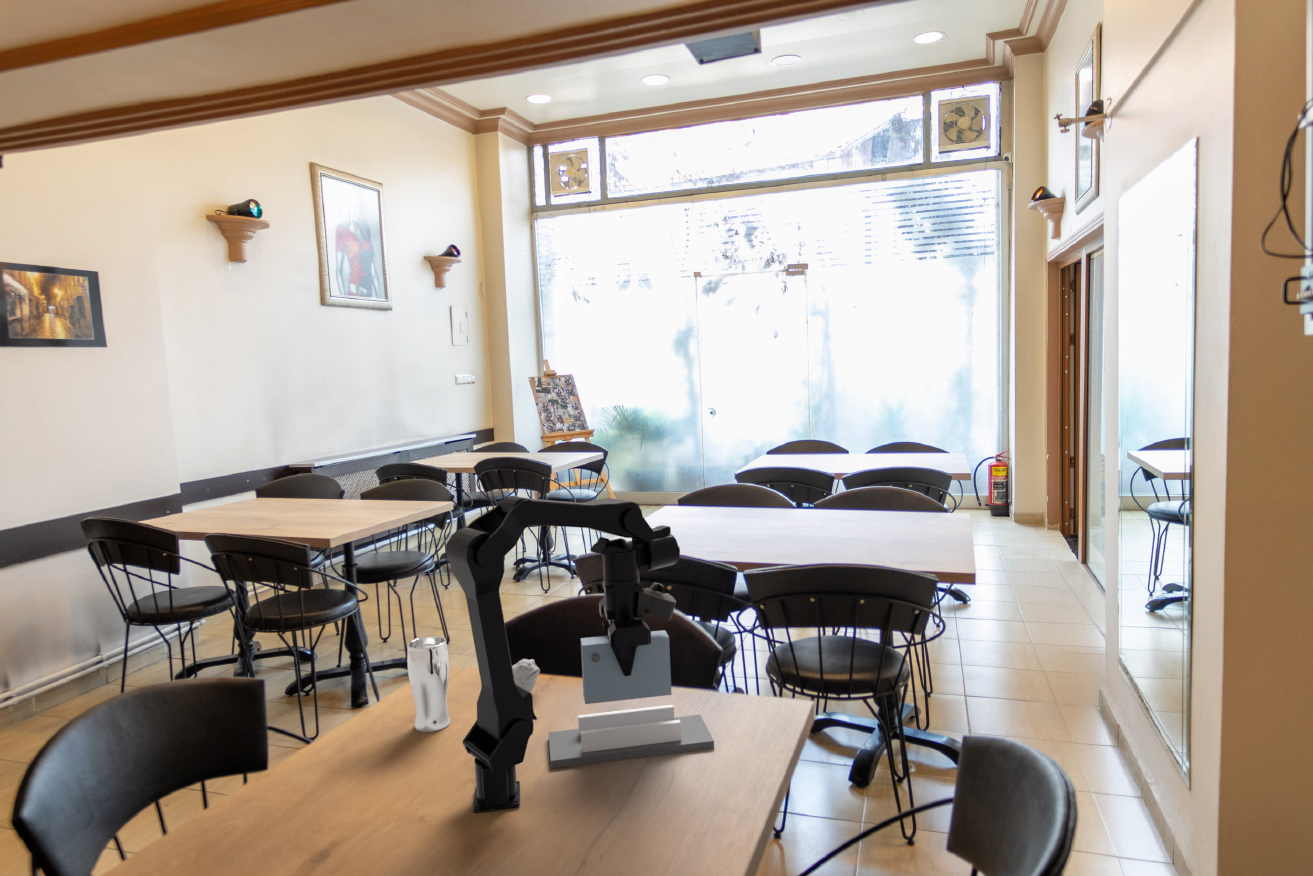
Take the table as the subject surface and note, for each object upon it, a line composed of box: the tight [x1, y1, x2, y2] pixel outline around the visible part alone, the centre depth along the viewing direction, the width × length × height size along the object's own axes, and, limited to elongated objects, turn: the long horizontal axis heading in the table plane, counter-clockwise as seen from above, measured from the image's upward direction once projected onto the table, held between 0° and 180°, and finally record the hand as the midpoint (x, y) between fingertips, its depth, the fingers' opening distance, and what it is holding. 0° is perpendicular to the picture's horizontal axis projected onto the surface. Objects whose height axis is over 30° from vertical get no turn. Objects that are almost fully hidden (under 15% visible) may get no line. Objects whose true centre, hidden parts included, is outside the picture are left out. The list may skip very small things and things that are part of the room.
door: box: [580, 629, 672, 705], centre depth 130 cm, size 4×14×10 cm, turn 100°
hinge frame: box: [548, 704, 715, 769], centre depth 131 cm, size 10×26×4 cm, turn 100°
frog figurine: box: [512, 658, 541, 693], centre depth 153 cm, size 6×7×7 cm
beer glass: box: [406, 635, 451, 733], centre depth 141 cm, size 7×7×15 cm
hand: (625, 671), depth 130 cm, fingers closed on door, 4 cm apart
